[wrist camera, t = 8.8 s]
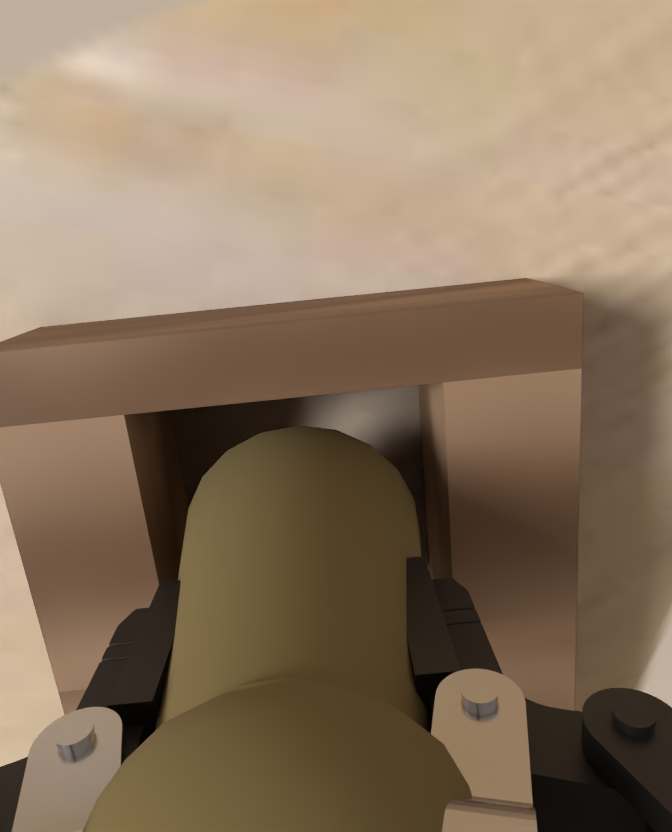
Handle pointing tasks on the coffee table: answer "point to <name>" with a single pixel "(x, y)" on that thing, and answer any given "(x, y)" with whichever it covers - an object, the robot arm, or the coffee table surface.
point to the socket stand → (288, 378)
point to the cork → (290, 656)
